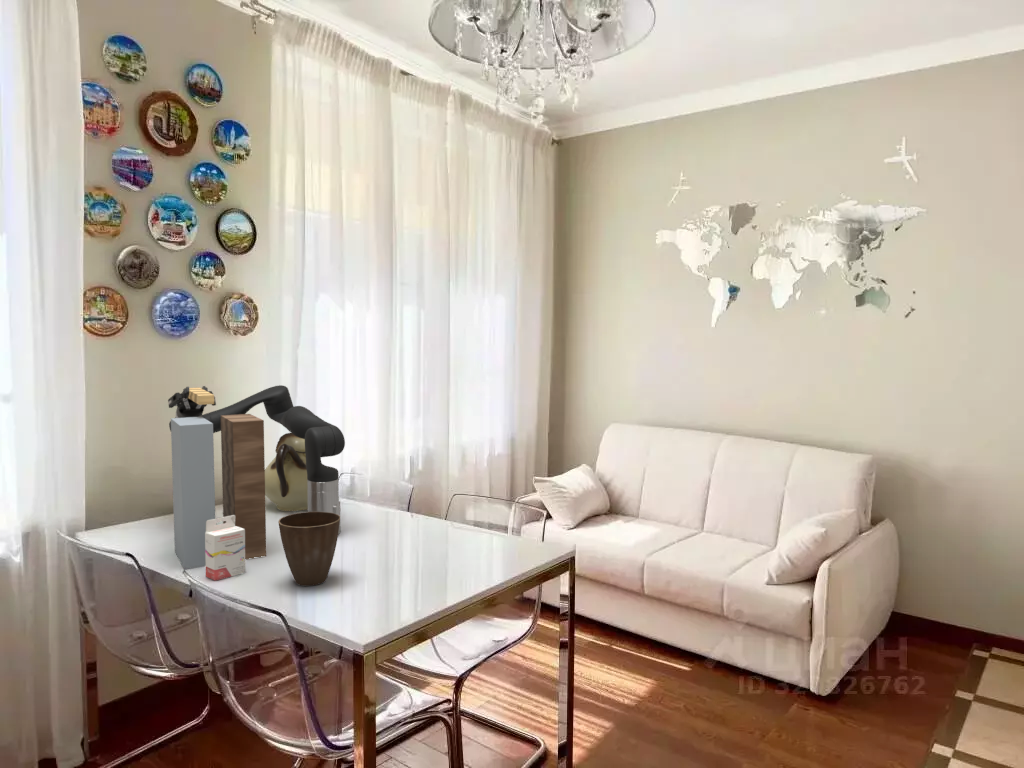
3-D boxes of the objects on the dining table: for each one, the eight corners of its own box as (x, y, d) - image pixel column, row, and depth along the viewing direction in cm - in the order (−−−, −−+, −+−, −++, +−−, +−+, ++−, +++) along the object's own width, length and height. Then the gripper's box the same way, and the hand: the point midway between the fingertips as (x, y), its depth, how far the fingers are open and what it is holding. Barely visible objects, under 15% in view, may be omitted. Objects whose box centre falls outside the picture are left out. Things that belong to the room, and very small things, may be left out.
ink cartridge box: (215, 581, 183) (213, 524, 182) (205, 577, 186) (203, 520, 185) (246, 572, 190) (245, 517, 188) (236, 568, 193) (235, 513, 192)
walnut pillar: (223, 545, 212) (220, 415, 209) (252, 541, 216) (249, 413, 213) (236, 561, 199) (233, 422, 195) (266, 556, 203) (263, 420, 200)
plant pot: (268, 580, 184) (267, 518, 183) (321, 566, 195) (320, 508, 193) (298, 596, 174) (297, 530, 172) (352, 581, 184) (351, 519, 183)
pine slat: (185, 396, 221) (185, 388, 221) (199, 395, 223) (199, 387, 223) (198, 404, 201) (198, 395, 201) (214, 403, 203) (214, 394, 203)
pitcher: (312, 495, 272) (311, 429, 269) (341, 509, 253) (339, 438, 251) (252, 505, 258) (250, 435, 255) (277, 520, 240) (275, 445, 237)
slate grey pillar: (174, 552, 205) (170, 418, 202) (205, 548, 209) (201, 416, 206) (184, 569, 192) (180, 425, 188) (216, 564, 196) (212, 423, 193)
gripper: (163, 402, 227) (168, 378, 213) (212, 400, 234) (220, 376, 221) (165, 424, 224) (171, 402, 211) (214, 421, 232) (223, 399, 218)
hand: (196, 389), depth 216 cm, fingers closed on pine slat, 4 cm apart
